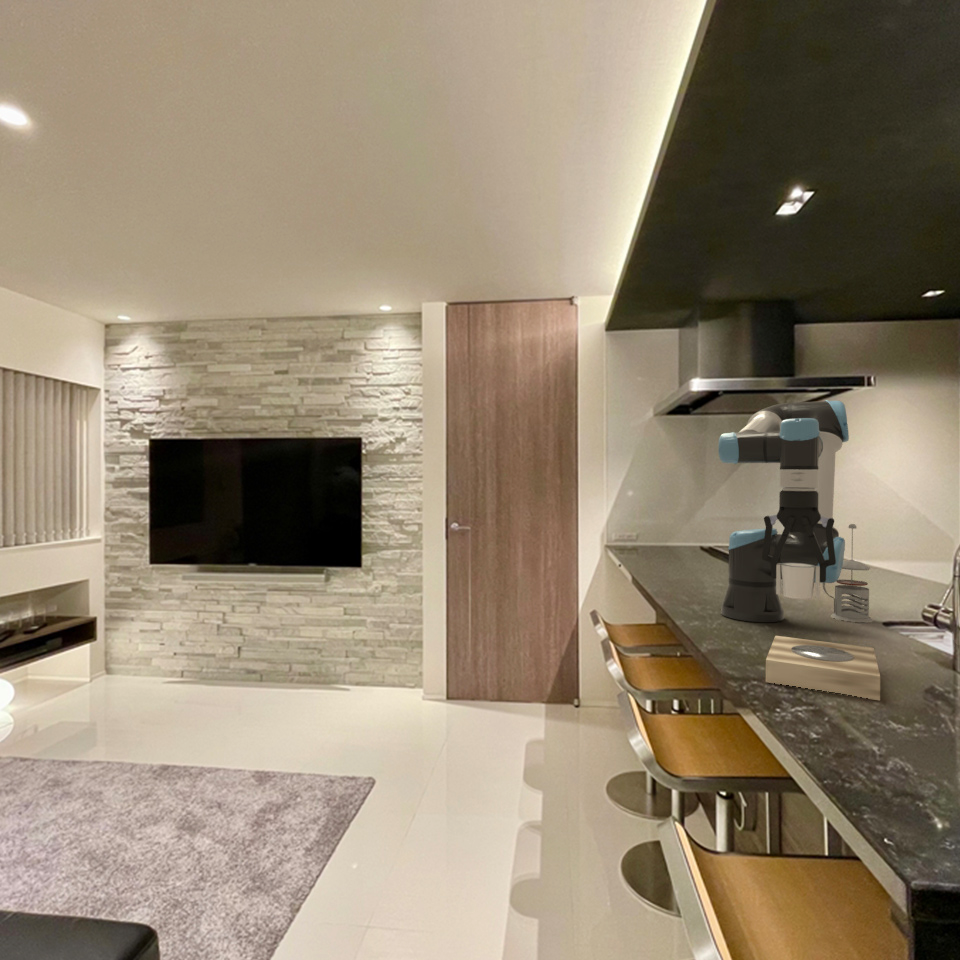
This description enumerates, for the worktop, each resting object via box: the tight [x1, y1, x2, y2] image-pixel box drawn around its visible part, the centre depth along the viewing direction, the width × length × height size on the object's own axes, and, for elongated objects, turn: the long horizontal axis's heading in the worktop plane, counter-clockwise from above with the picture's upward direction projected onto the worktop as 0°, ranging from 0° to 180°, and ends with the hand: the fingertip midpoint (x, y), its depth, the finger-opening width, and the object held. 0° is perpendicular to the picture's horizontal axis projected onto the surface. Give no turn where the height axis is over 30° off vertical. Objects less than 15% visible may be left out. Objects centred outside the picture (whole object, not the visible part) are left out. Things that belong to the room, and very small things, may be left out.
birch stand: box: [765, 635, 881, 701], centre depth 112 cm, size 20×17×4 cm
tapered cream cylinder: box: [781, 563, 816, 600], centre depth 132 cm, size 7×7×7 cm
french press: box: [822, 523, 874, 623], centre depth 161 cm, size 10×12×25 cm
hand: (797, 594), depth 132 cm, fingers closed on tapered cream cylinder, 7 cm apart
